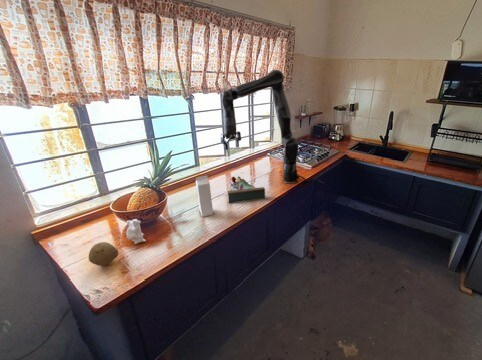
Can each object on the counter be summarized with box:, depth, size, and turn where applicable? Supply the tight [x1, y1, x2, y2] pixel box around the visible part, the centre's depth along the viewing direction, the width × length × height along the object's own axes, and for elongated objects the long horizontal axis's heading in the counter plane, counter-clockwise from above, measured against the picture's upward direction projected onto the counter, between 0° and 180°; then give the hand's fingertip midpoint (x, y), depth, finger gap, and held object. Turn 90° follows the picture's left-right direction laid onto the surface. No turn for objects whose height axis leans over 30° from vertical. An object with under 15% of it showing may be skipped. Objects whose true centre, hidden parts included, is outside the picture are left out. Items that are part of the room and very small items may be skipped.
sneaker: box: [230, 175, 256, 191], centre depth 159 cm, size 8×21×10 cm, turn 60°
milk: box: [195, 175, 214, 218], centre depth 131 cm, size 6×6×22 cm
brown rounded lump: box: [88, 241, 119, 267], centre depth 97 cm, size 9×9×10 cm
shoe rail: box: [227, 186, 266, 204], centre depth 150 cm, size 22×3×7 cm, turn 107°
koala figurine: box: [125, 218, 147, 245], centre depth 110 cm, size 8×7×12 cm
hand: (232, 148), depth 161 cm, fingers open, 8 cm apart
